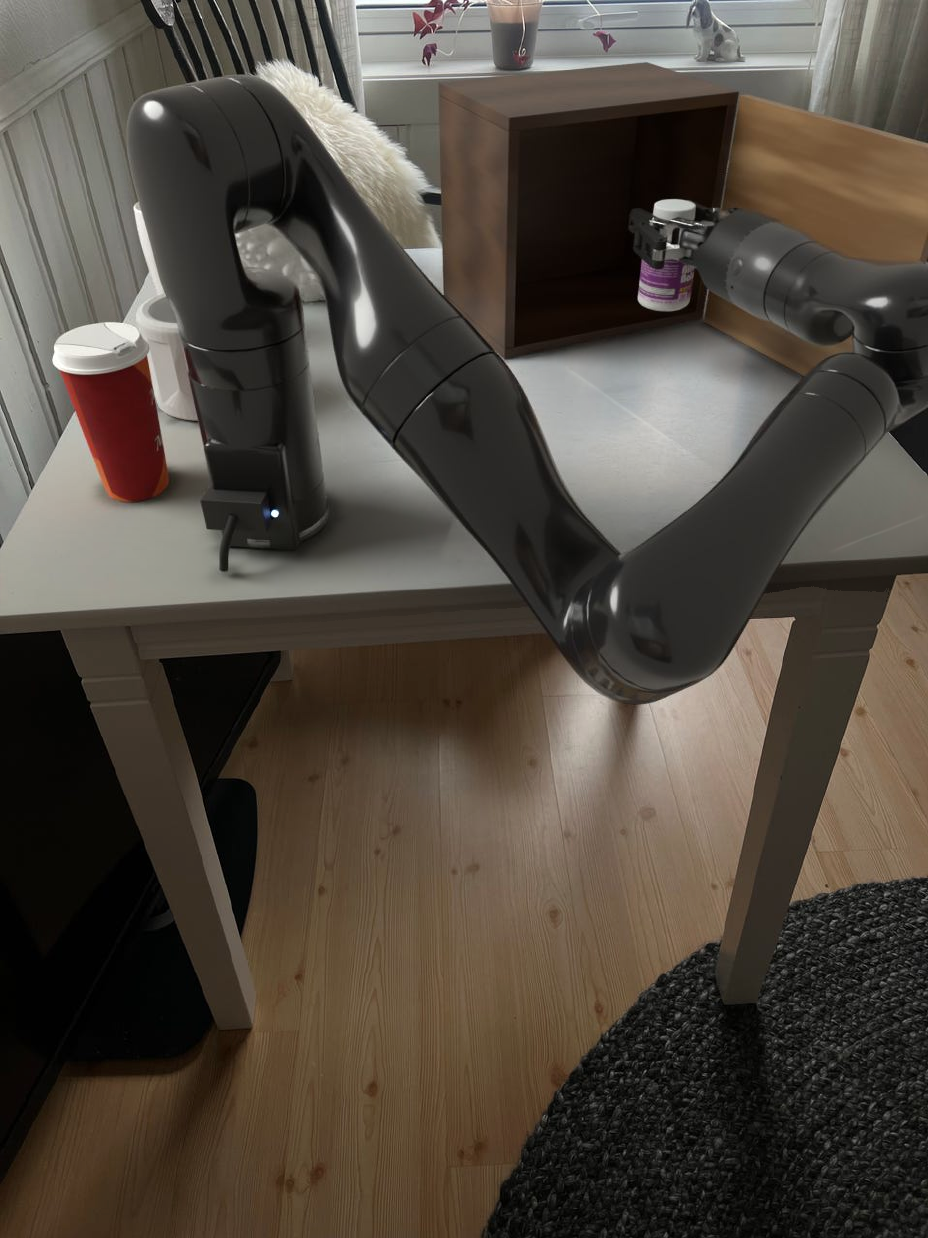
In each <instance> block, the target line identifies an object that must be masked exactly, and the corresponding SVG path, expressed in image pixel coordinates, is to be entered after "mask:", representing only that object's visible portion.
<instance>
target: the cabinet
mask: <svg viewBox="0 0 928 1238" xmlns="http://www.w3.org/2000/svg"><path fill="white" fill-rule="evenodd" d="M437 84H438V86H437V87H438V89H437V90H438V123H439V124H438V126H439V127H438V128H439V129H438V130H439V166H440V167H439V169H440V206H441V208H440V210H441V248H442V249H441V251H442V253H441V254H442V291H443V292H442V294H443V295H444V296H445V297H446V298H447V299H448V300H449V301H450V302H451V303H452V304H453V306H454V307H455V308H456V309H457V310H458V311H459V312H460V313H461V314H462V315H463V316H464V317H465V318H466V319H467V320H468V321H469V322H470V323H471V325H472V326H473V327H474V328H475V329H476V330H477V331H478V332H479V334H480V335H481V336H482V337H483V338H484V339H485V340H486V341H487V343H488V344H489V345H490V346H491V347H492V348H493V349H494V350H495V351H496V353H497V354H498V355H499V356H500V357H501V358H502V359H503V360H508V359H512V358H513V359H514V358H518V357H522V356H527V355H532V354H537V353H543V352H545V351H549V350H555V349H559V348H560V349H561V348H566V347H571V346H575V345H580V344H585V343H590V342H596V341H600V340H601V341H602V340H605V339H611V338H615V337H620V336H626V335H630V334H636V333H640V332H641V333H642V332H645V331H652V330H657V329H662V328H666V327H672V326H675V325H682V324H686V323H691V322H696V321H697V322H698V321H702V320H704V316H705V309H706V303H707V297H708V291H709V289H708V288H707V287H706V286H705V284H704V283H703V281H702V278H701V276H700V274H699V272H698V270H697V268H694V276H693V283H692V290H691V296H690V301H689V303H688V305H687V306H685V307H684V308H682V309H680V310H675V311H657V310H652V309H648V308H646V307H644V306H642V305H641V304H640V303H639V301H638V291H639V281H640V272H641V262H642V258H641V257H640V256H639V255H638V254H637V253H635V252H634V251H633V246H634V235H635V234H634V233H632V232H630V231H629V230H628V226H629V215H630V214H631V210H632V209H635V208H641V209H643V210H645V211H647V212H649V213H651V214H653V211H654V204H655V203H656V202H658V201H661V200H668V199H679V200H691V201H694V202H696V203H698V204H700V205H702V206H704V207H707V208H713V207H718V208H720V209H722V203H723V197H724V191H725V185H726V178H727V172H728V166H729V160H730V153H731V147H732V141H733V135H734V128H735V122H736V116H737V110H738V103H739V97H740V91H738V90H735V89H733V88H729V87H725V86H723V85H719V84H717V83H715V82H714V83H713V82H710V81H707V80H703V79H701V78H697V77H696V76H692V75H688V74H685V73H682V72H680V71H676V70H673V69H669V68H666V67H664V66H660V65H658V64H654V63H651V62H648V61H643V62H634V63H633V62H632V63H624V64H613V65H603V66H595V67H594V66H593V67H584V68H583V67H582V68H572V69H564V70H552V71H543V72H531V73H523V74H513V75H503V76H492V77H483V78H472V79H463V80H462V79H461V80H452V81H442V82H438V83H437Z"/></svg>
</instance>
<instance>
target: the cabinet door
mask: <svg viewBox="0 0 928 1238" xmlns="http://www.w3.org/2000/svg"><path fill="white" fill-rule="evenodd" d="M733 206H736V207H738V208H742V209H745V210H754V211H757V212H760V213H762V214H764V215H766V216H769V217H771V218H775V219H777V220H779V221H780V222H782V223H785V224H787V225H789V226H791V227H794V228H796V229H798V230H801V231H803V232H805V233H807V234H808V235H810V236H811V237H813V238H814V239H815V240H817V241H818V242H820V243H822V244H824V245H826V246H828V247H831V248H833V249H835V250H837V251H840V252H842V253H844V254H846V255H848V256H850V257H856V258H871V259H882V260H916V261H925V262H928V142H924V141H920V140H916V139H913V138H909V137H905V136H903V135H898V134H895V133H891V132H887V131H884V130H880V129H877V128H873V127H869V126H866V125H862V124H858V123H855V122H851V121H848V120H844V119H840V118H836V117H833V116H829V115H825V114H821V113H819V112H814V111H810V110H806V109H803V108H799V107H795V106H793V105H789V104H785V103H781V102H778V101H774V100H771V99H767V98H763V97H759V96H756V95H752V94H749V93H747V94H745V93H744V94H739V99H738V105H737V111H736V117H735V123H734V130H733V136H732V142H731V148H730V154H729V161H728V167H727V173H726V179H725V185H724V192H723V198H722V204H721V209H722V211H728V208H729V207H733ZM703 322H704V323H705V324H707V325H709V326H710V327H713V328H714V329H715V330H718V331H720V332H722V333H723V334H725V335H727V336H729V337H731V338H733V339H735V340H736V341H738V342H740V343H742V344H743V345H745V346H747V347H749V348H751V349H752V350H755V351H756V352H758V353H760V354H761V355H764V356H766V357H768V358H769V359H771V360H773V361H775V362H777V363H779V364H780V365H783V366H785V367H786V368H788V369H790V370H791V371H794V372H795V373H798V374H799V375H801V376H802V377H804V376H805V375H806V374H807V373H808V372H809V371H810V370H811V369H812V368H813V367H814V366H815V365H816V364H818V363H819V362H820V361H822V360H823V359H825V358H827V357H829V356H832V355H834V354H838V353H846V352H848V353H853V342H852V336H850V337H849V338H848V339H846V340H845V341H843V342H841V343H839V344H836V345H832V346H818V345H815V344H811V343H809V342H806V341H804V340H802V339H800V338H799V337H797V336H795V335H793V334H791V333H790V332H788V331H786V330H784V329H782V328H781V327H779V326H777V325H775V324H773V323H771V322H768V321H765V320H762V319H759V318H757V317H755V316H753V315H751V314H749V313H748V312H746V311H744V310H742V309H741V308H739V307H737V306H735V305H734V304H732V303H730V302H728V301H727V300H725V299H723V298H721V297H720V296H718V295H716V294H714V293H713V292H711V291H710V290H709V289H708V291H707V297H706V303H705V310H704V316H703Z"/></svg>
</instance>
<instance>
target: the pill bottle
mask: <svg viewBox="0 0 928 1238" xmlns="http://www.w3.org/2000/svg"><path fill="white" fill-rule="evenodd" d="M695 210H696V205H695V204H694V203H692V202H690V201H686V200H679V199H668V200H661V201H658V202H656V203H655V204H654V211H653V215H655V216H656V217H658V218H662V219H666V220H671V219H673V218H676V217H681V218H685V219H689V220H693V221H694V218H695ZM683 230H684V229H682V228H680V233H679V241H678V245H679V243H680V235H681V232H682V231H683ZM660 234H661V235H666V231H665V229H662V228H660ZM693 276H694V268H693V267H690V266H689V265H685V264H683V263H681V262H680V261H678V260H675V259H668V260H665V262H664V268H663V269H658V270H657V269H653V268H651V267H650V266H649V265H648V264H647V263H646V262H645V261H644V260H643V259H642V262H641V272H640V281H639V291H638V301H639V303H640V304H641V305H642V306H644V307H646V308H648V309H652V310H657V311H675V310H680V309H682V308H684V307H685V306H687V305H688V303H689V301H690V296H691V290H692V283H693Z"/></svg>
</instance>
